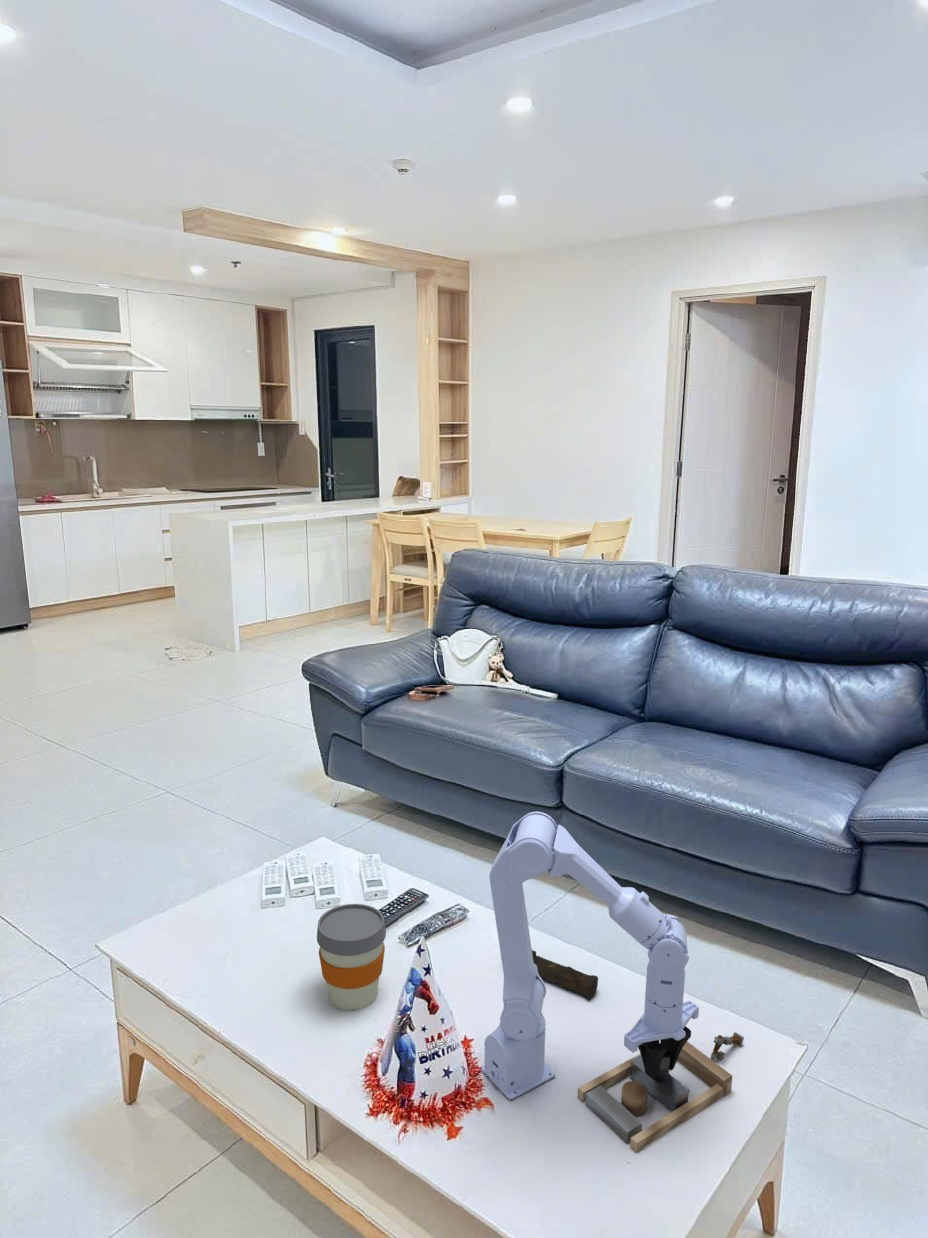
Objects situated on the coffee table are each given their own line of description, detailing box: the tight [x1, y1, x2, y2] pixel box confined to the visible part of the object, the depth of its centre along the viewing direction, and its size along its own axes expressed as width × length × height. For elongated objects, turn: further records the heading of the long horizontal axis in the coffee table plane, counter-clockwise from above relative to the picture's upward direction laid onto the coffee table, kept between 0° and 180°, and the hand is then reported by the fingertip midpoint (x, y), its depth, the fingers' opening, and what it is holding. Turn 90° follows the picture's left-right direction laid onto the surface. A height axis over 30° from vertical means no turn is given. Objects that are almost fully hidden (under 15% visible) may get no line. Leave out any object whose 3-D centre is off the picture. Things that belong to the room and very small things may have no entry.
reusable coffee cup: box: [316, 903, 387, 1011], centre depth 158 cm, size 13×13×15 cm
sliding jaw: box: [629, 1050, 690, 1113], centre depth 136 cm, size 3×10×7 cm, turn 34°
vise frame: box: [577, 1041, 733, 1153], centre depth 136 cm, size 21×13×3 cm, turn 124°
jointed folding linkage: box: [709, 1031, 745, 1063], centre depth 145 cm, size 2×8×4 cm, turn 130°
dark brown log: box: [532, 949, 599, 1001], centre depth 164 cm, size 19×4×5 cm, turn 55°
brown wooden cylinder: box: [620, 1080, 649, 1118], centre depth 134 cm, size 4×4×3 cm
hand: (659, 1070), depth 136 cm, fingers closed on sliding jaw, 3 cm apart
